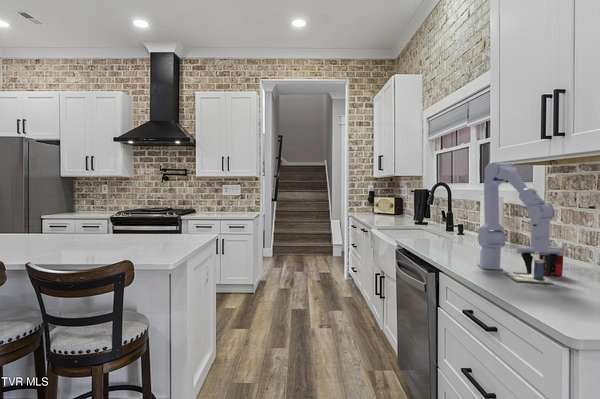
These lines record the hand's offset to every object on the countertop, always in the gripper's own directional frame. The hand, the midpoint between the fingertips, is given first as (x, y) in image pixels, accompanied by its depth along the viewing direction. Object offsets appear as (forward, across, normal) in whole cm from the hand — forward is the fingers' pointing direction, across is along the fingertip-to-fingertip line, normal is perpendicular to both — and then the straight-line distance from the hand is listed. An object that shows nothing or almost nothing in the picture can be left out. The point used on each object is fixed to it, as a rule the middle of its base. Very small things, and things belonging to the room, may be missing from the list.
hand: (538, 274), depth 143 cm
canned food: (+3, +9, +13) cm, 16 cm away
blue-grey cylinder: (+2, 0, 0) cm, 2 cm away
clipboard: (+2, -3, +2) cm, 4 cm away
